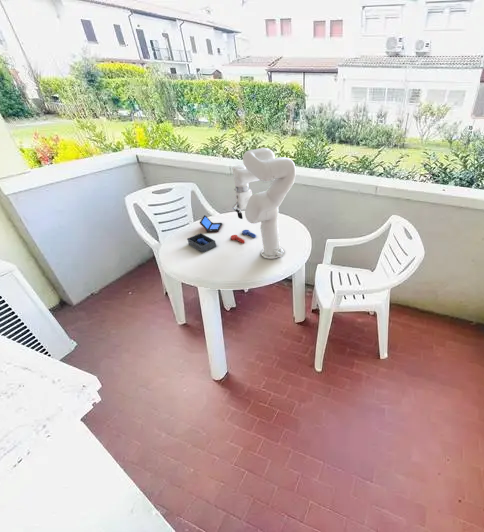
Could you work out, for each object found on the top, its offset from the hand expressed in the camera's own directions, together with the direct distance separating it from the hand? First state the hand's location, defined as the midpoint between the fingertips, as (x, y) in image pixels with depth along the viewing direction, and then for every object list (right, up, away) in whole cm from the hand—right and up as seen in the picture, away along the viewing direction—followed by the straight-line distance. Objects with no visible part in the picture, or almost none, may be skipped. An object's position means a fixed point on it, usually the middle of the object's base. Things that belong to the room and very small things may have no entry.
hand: (246, 215), depth 171 cm
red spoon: (-7, -15, +4) cm, 17 cm away
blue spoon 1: (-26, -17, 0) cm, 31 cm away
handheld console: (-28, -6, +18) cm, 34 cm away
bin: (-27, -18, -1) cm, 32 cm away
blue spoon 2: (-1, -11, +10) cm, 15 cm away
